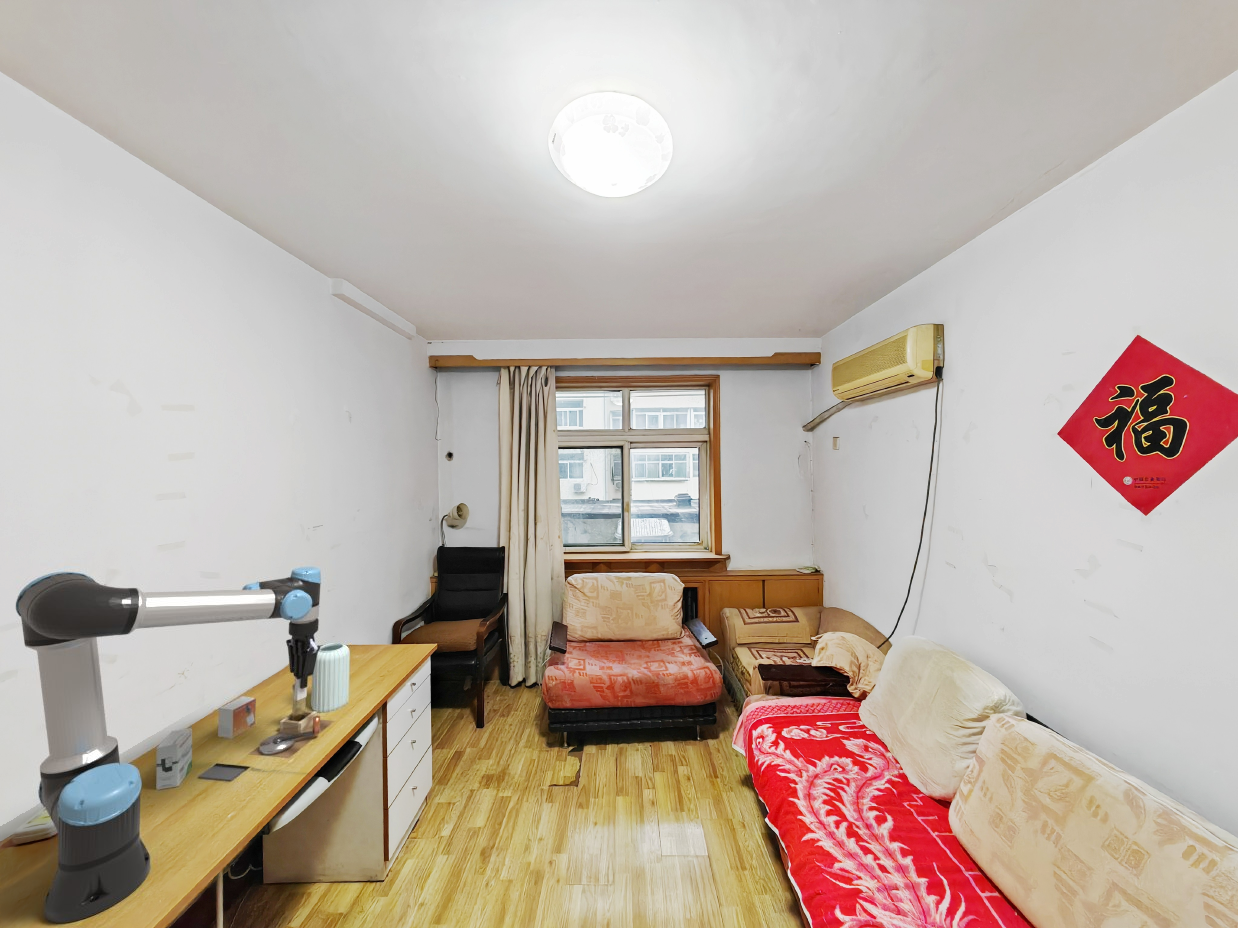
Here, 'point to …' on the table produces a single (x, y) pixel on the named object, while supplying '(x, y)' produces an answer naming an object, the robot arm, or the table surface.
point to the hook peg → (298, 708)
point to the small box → (236, 717)
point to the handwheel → (286, 739)
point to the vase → (331, 678)
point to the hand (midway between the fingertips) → (300, 697)
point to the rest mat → (223, 772)
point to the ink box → (173, 758)
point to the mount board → (296, 742)
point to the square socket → (297, 723)
